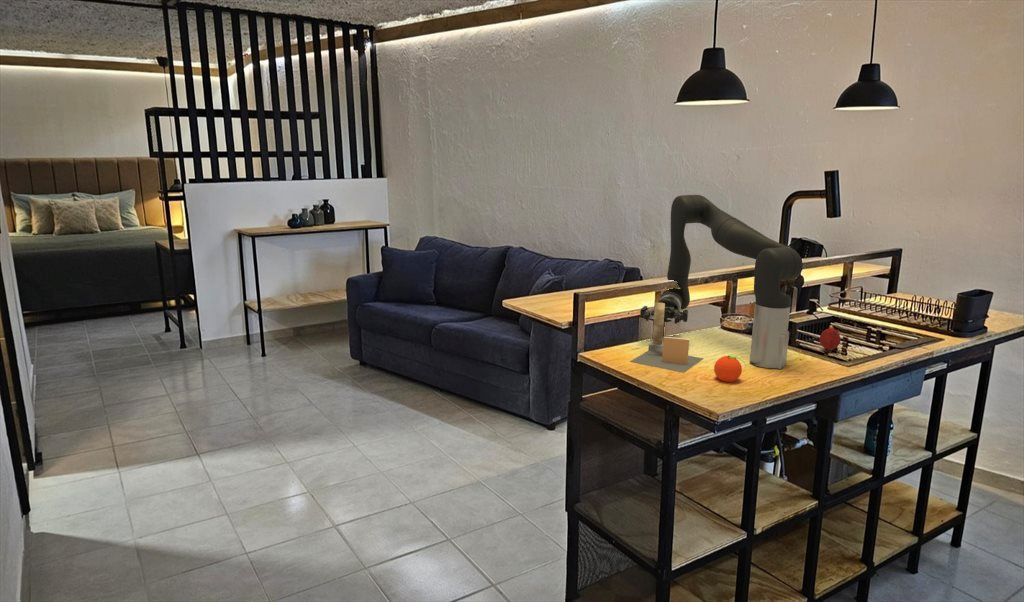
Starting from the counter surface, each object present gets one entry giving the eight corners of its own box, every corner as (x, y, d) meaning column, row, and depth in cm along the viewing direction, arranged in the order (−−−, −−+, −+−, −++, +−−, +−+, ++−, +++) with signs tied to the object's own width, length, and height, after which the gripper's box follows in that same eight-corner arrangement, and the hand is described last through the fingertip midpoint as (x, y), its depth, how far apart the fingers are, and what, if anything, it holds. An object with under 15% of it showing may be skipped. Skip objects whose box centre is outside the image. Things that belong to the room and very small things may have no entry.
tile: (687, 363, 188) (689, 339, 187) (687, 364, 187) (689, 340, 186) (662, 360, 191) (664, 336, 189) (661, 361, 189) (663, 337, 188)
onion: (842, 354, 201) (845, 328, 200) (823, 353, 201) (826, 327, 200) (833, 348, 207) (836, 323, 205) (815, 348, 207) (818, 323, 205)
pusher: (665, 352, 198) (668, 302, 195) (663, 356, 194) (666, 305, 191) (650, 350, 200) (653, 301, 196) (648, 354, 196) (651, 304, 192)
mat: (703, 360, 193) (703, 358, 193) (683, 374, 180) (683, 372, 180) (651, 350, 202) (651, 348, 201) (629, 363, 189) (629, 361, 189)
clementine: (740, 377, 178) (742, 352, 177) (748, 386, 172) (750, 360, 170) (709, 377, 179) (712, 351, 177) (717, 386, 172) (719, 359, 170)
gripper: (646, 294, 217) (638, 304, 202) (691, 298, 212) (686, 309, 197) (645, 317, 218) (636, 328, 204) (689, 321, 214) (684, 333, 199)
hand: (661, 319), depth 200 cm, fingers open, 8 cm apart
